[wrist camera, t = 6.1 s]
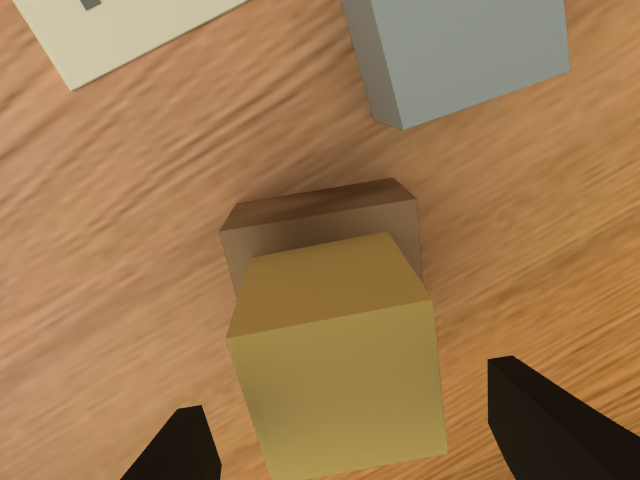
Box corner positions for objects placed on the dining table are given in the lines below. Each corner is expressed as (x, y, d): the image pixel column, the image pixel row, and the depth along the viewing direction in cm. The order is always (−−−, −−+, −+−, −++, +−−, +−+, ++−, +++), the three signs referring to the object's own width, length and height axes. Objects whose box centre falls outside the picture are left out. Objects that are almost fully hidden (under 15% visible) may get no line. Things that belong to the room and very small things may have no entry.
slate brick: (466, -62, 14) (550, -142, 9) (490, 78, 16) (570, 70, 11) (336, -12, 14) (354, -64, 10) (373, 120, 16) (403, 130, 11)
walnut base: (391, 176, 17) (416, 198, 13) (404, 311, 20) (428, 362, 16) (237, 202, 17) (218, 231, 13) (268, 333, 20) (261, 389, 16)
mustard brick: (387, 231, 14) (432, 299, 9) (402, 346, 15) (447, 453, 11) (250, 257, 14) (225, 338, 9) (281, 369, 16) (273, 485, 11)
